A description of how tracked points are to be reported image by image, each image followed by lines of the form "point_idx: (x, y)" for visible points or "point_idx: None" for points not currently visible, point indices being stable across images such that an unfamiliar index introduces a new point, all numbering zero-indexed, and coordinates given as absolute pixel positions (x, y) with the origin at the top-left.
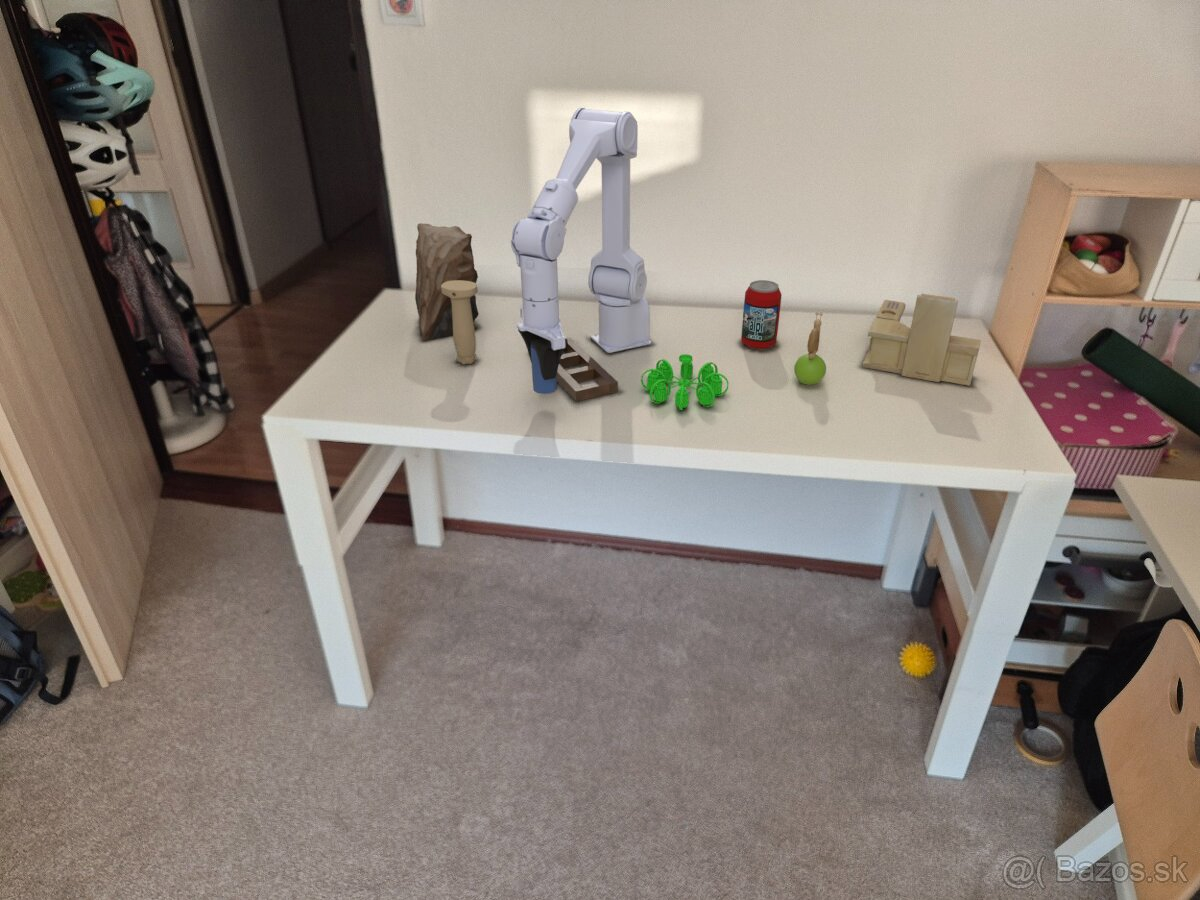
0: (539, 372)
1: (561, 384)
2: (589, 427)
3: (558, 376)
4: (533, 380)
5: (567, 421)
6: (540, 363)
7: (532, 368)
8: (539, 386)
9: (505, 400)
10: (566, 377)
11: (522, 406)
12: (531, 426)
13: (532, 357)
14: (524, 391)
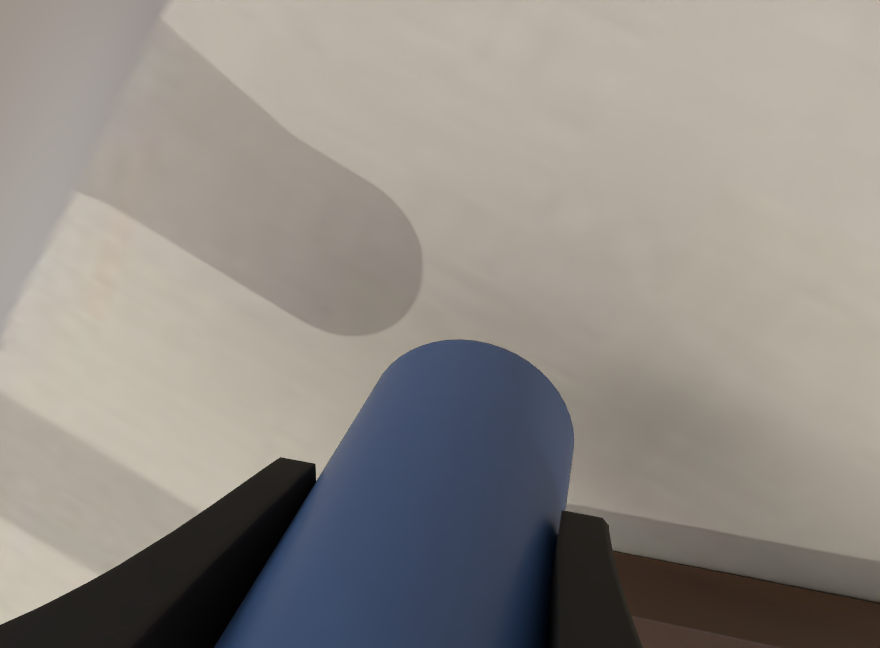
0: (321, 488)
1: (682, 574)
2: (127, 411)
3: (740, 617)
4: (450, 395)
5: (231, 352)
6: (143, 571)
7: (420, 480)
8: (381, 390)
9: (765, 124)
10: (641, 639)
11: (573, 202)
12: (255, 119)
13: (347, 596)
14: (800, 334)
